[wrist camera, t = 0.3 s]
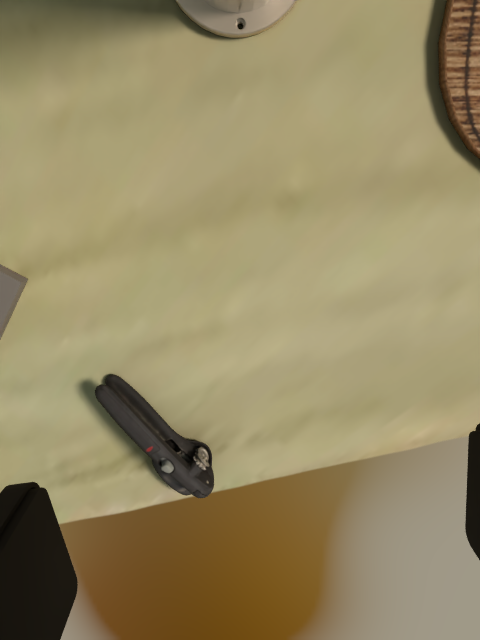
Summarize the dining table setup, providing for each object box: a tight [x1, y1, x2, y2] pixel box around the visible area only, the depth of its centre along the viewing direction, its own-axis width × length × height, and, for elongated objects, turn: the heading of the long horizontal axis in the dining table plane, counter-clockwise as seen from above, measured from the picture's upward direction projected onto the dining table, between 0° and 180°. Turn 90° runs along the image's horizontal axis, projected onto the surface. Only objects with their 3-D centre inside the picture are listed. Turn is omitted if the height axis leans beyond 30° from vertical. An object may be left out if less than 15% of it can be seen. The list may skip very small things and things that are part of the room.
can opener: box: [95, 375, 214, 498], centre depth 48 cm, size 18×7×6 cm, turn 37°
